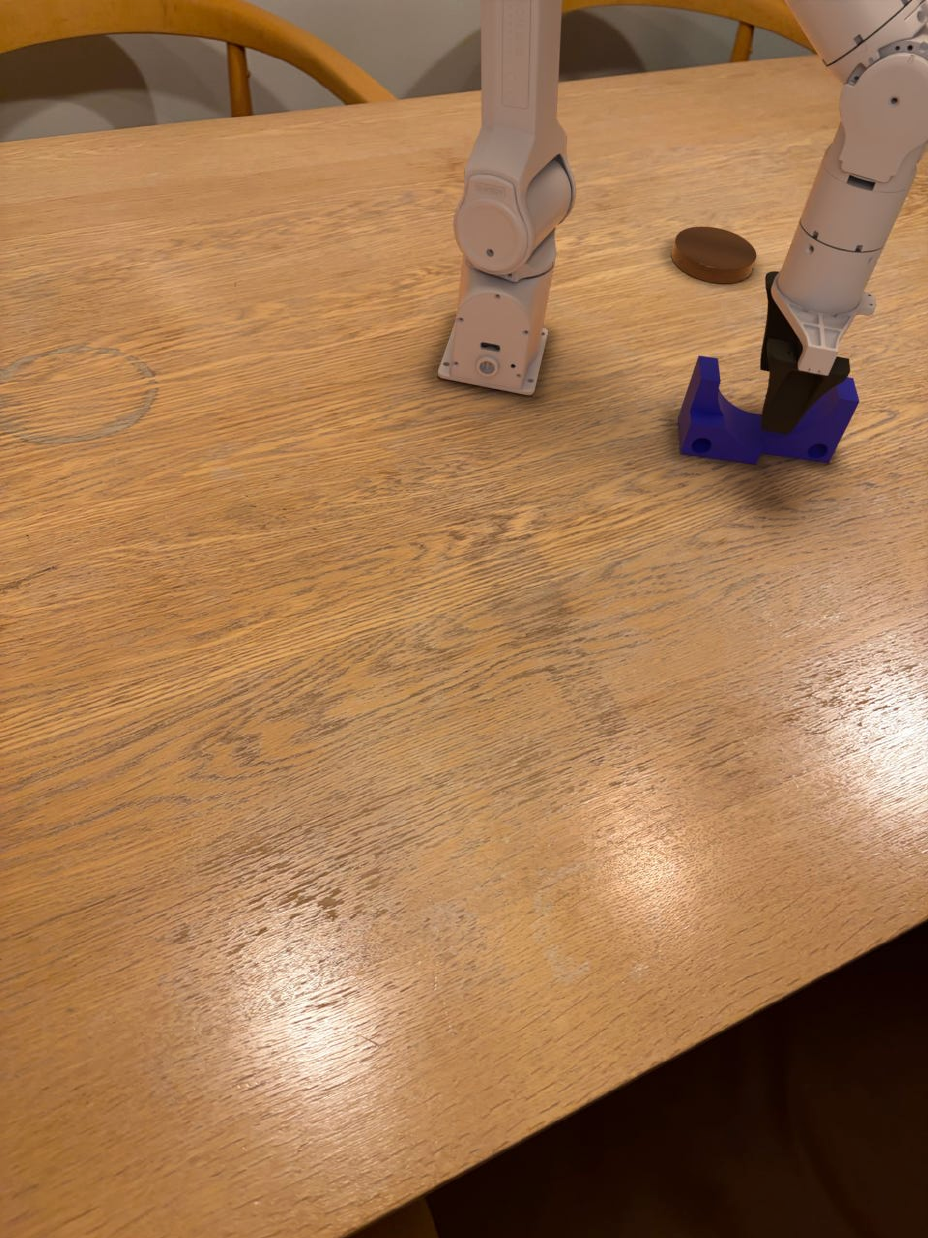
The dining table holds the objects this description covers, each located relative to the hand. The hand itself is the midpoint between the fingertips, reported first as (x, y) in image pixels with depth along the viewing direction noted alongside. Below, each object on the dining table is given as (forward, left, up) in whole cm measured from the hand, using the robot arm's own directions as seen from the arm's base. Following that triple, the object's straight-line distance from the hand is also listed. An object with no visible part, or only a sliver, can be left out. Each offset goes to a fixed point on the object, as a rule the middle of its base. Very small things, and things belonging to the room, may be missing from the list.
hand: (773, 398), depth 75 cm
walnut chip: (+28, +4, -5) cm, 29 cm away
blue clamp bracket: (0, 0, -5) cm, 5 cm away
